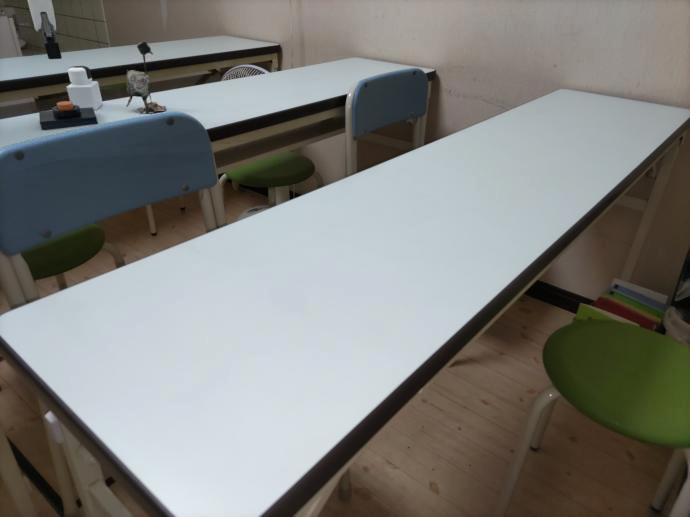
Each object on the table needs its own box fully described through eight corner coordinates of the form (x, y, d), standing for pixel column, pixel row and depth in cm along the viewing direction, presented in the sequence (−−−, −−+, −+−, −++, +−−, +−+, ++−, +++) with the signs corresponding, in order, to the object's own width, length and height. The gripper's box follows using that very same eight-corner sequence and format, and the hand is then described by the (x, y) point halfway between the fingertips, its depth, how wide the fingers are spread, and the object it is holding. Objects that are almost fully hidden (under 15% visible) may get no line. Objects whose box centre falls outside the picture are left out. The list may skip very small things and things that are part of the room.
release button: (58, 111, 141) (56, 105, 140) (57, 108, 144) (56, 101, 143) (74, 110, 142) (73, 104, 141) (73, 106, 145) (72, 100, 144)
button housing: (41, 129, 138) (37, 115, 136) (41, 119, 146) (37, 105, 144) (97, 124, 144) (94, 110, 141) (94, 114, 152) (91, 101, 150)
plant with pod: (131, 108, 159) (117, 39, 148) (169, 107, 160) (157, 39, 150) (125, 116, 152) (110, 44, 142) (165, 115, 153) (152, 43, 143)
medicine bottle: (79, 104, 160) (69, 64, 154) (103, 104, 161) (94, 64, 155) (72, 110, 154) (60, 69, 148) (96, 110, 155) (86, 69, 149)
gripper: (18, -22, 131) (39, 54, 140) (17, -18, 119) (39, 64, 129) (51, -22, 134) (69, 53, 143) (53, -18, 122) (72, 62, 132)
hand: (55, 58), depth 136 cm, fingers closed
